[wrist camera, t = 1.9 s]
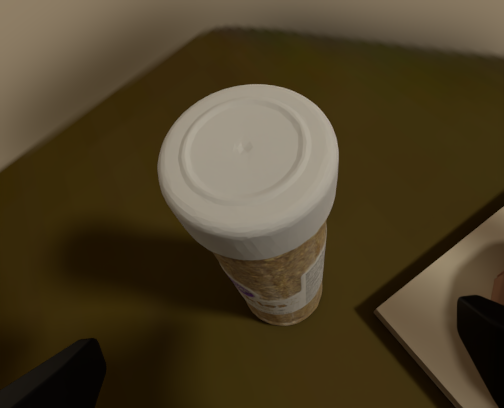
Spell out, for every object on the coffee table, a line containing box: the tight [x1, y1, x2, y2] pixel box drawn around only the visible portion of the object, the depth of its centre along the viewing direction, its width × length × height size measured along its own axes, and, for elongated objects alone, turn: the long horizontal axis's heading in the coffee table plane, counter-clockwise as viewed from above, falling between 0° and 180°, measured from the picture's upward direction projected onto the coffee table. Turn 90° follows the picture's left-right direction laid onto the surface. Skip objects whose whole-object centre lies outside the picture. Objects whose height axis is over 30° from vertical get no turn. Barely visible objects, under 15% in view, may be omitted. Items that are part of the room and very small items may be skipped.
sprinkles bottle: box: [157, 84, 339, 326], centre depth 14 cm, size 5×5×13 cm
